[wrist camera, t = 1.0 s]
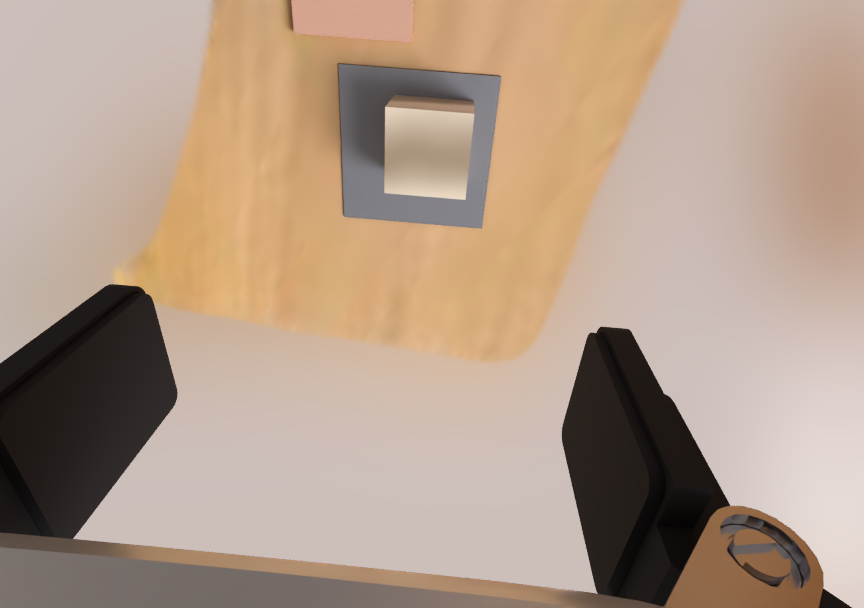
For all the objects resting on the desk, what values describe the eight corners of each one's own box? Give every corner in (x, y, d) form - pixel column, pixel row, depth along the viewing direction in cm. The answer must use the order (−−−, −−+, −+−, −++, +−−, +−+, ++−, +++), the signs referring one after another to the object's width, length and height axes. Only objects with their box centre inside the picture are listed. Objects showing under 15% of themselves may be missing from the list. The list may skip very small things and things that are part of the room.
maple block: (394, 94, 30) (385, 106, 27) (473, 101, 30) (474, 113, 27) (393, 173, 33) (384, 193, 29) (465, 179, 33) (465, 199, 29)
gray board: (338, 63, 30) (338, 64, 29) (501, 76, 29) (501, 76, 29) (344, 216, 35) (344, 217, 35) (481, 227, 35) (481, 228, 35)
